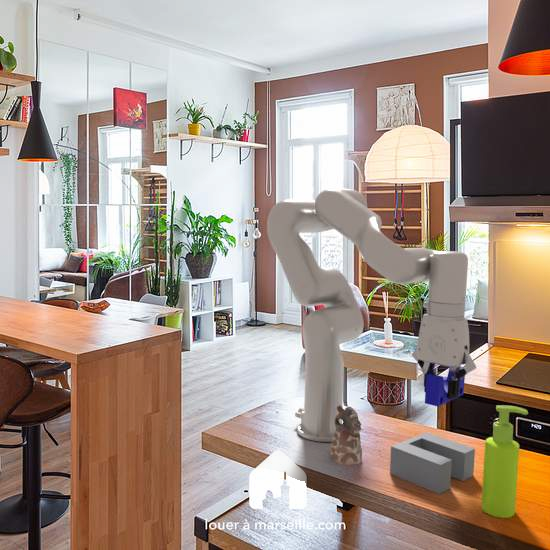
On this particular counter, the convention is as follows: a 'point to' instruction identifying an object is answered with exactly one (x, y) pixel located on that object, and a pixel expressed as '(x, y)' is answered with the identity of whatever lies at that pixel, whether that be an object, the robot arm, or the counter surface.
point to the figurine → (346, 438)
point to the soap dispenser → (501, 466)
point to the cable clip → (439, 389)
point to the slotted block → (432, 461)
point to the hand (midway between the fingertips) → (440, 393)
